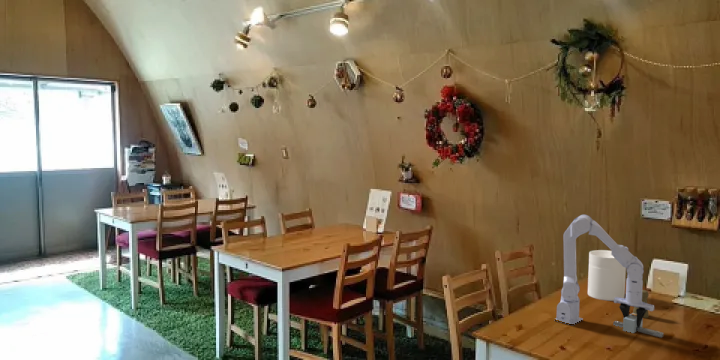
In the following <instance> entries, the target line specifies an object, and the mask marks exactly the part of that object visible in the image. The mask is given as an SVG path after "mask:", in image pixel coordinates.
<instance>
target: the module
mask: <svg viewBox="0 0 720 360" xmlns="http://www.w3.org/2000/svg"><path fill="white" fill-rule="evenodd" d="M622 319H623V321H622V322H623V328H622V331H623V332H626V331H627V333H630V332H631V334H635V333H636V332H637V331H636V327H637V314H634V313H633V312H632V313H629V315H628V316H626V317H625V318H624V317H623V318H622ZM643 321H644V318H642V321H641V325H640V326H639V327H643Z"/></svg>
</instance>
